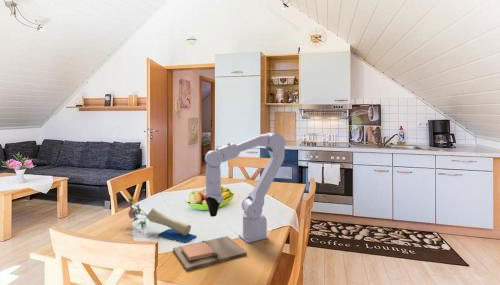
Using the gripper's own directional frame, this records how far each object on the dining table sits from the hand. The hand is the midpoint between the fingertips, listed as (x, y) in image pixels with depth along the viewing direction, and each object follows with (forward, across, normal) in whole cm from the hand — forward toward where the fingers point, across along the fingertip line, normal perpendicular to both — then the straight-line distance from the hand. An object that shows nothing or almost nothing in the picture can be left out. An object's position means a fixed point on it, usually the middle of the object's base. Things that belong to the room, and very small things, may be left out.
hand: (213, 215), depth 112 cm
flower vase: (+11, -24, -17) cm, 31 cm away
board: (+10, +8, -5) cm, 14 cm away
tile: (+8, +8, -9) cm, 15 cm away
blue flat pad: (+11, -12, -11) cm, 20 cm away
